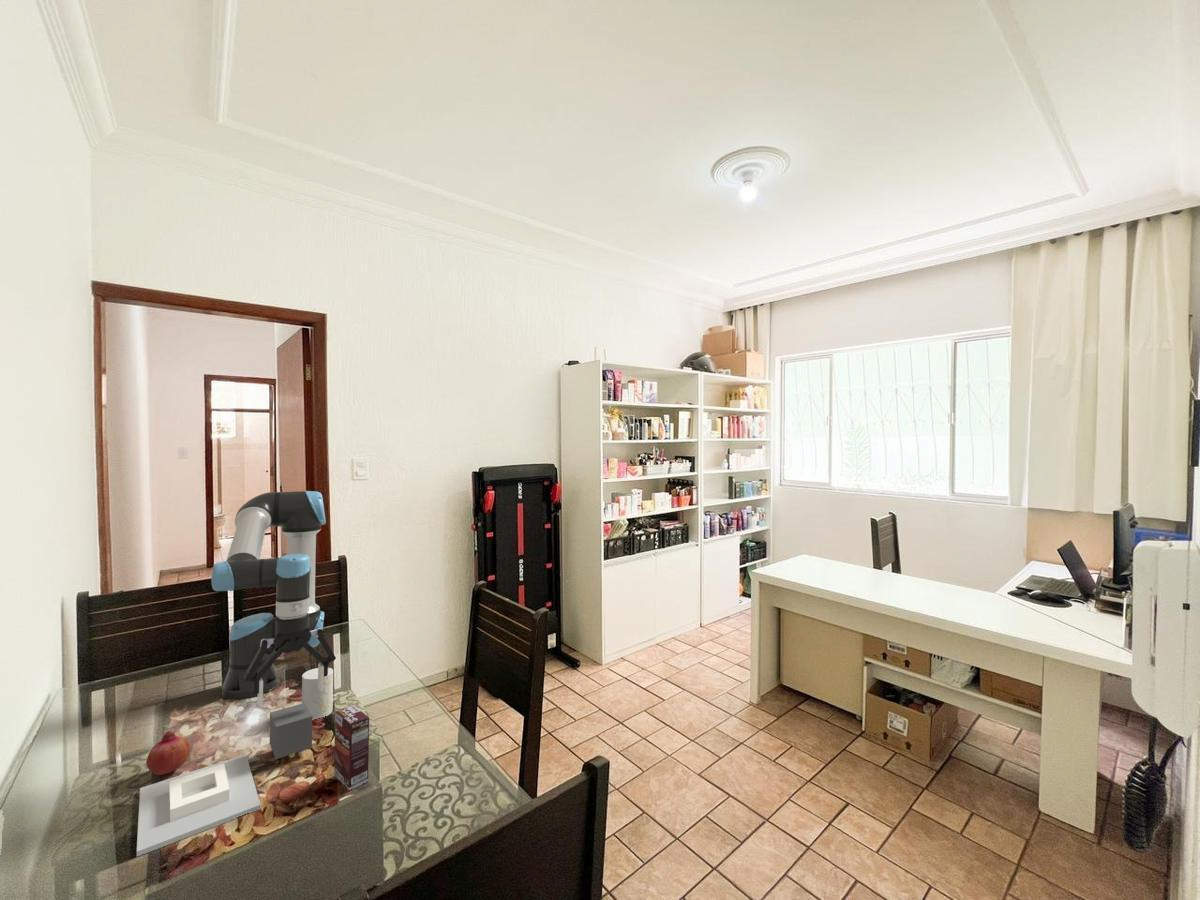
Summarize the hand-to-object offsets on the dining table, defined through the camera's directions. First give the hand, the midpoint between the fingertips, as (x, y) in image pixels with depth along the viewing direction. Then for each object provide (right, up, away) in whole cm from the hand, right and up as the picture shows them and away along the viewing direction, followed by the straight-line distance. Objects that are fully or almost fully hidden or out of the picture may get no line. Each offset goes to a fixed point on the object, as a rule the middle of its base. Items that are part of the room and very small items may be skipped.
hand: (291, 697), depth 130 cm
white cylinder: (-5, -15, +20) cm, 26 cm away
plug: (0, -15, 0) cm, 15 cm away
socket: (-10, -15, -18) cm, 25 cm away
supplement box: (+20, -15, -10) cm, 27 cm away
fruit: (-25, -15, -8) cm, 30 cm away
